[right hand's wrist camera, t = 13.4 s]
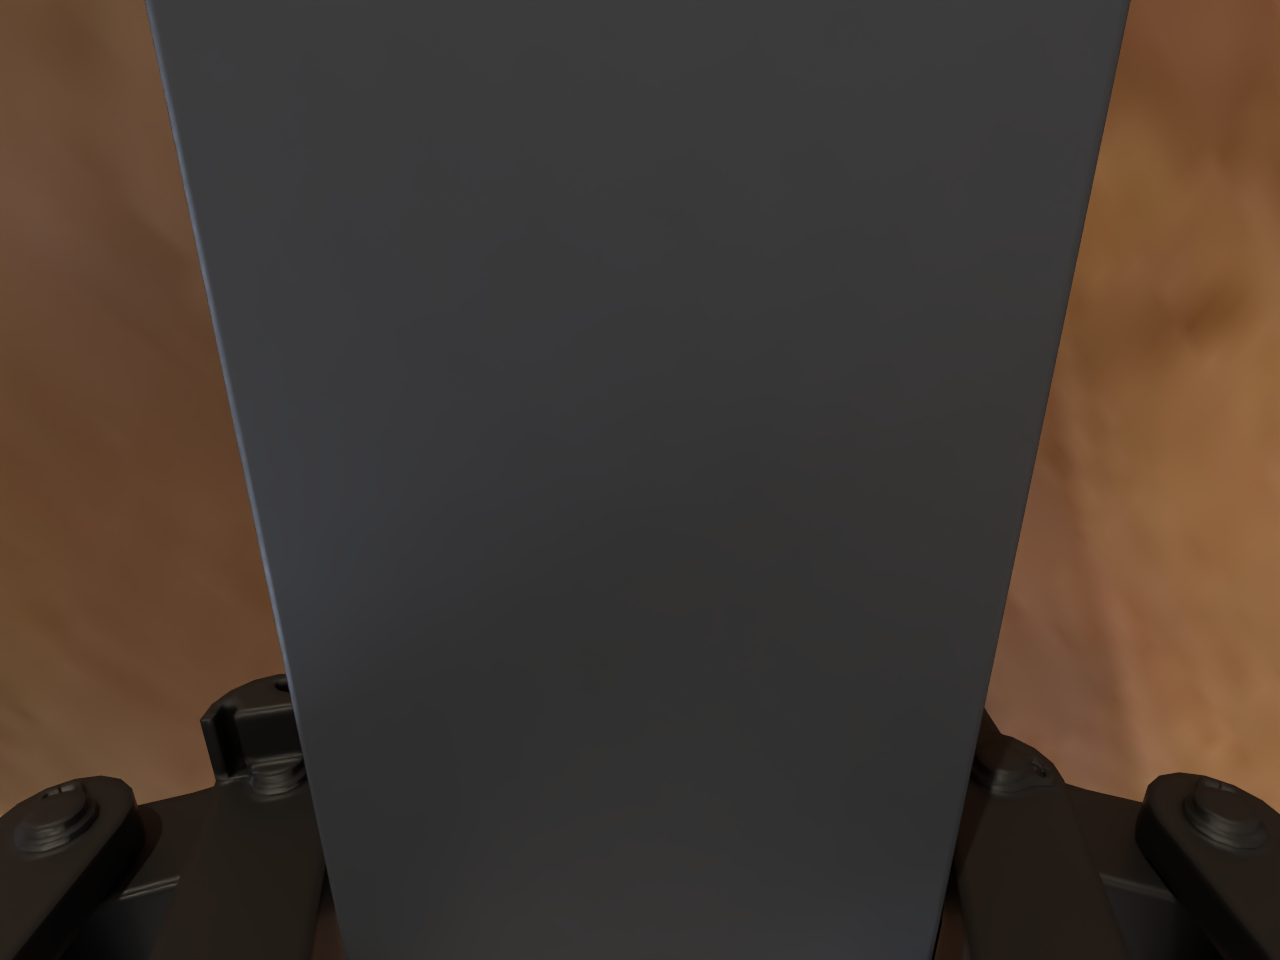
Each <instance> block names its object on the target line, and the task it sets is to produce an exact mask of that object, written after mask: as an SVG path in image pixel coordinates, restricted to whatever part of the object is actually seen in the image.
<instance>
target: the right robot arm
mask: <svg viewBox="0 0 1280 960" xmlns="http://www.w3.org/2000/svg"><path fill="white" fill-rule="evenodd" d="M200 723H201V726H202V730H203V734H204V738H205V741H206V745H207V749H208V752H209V756H210V760H211V764H212V767H213V771H214V775H215V779H216V783H215V785H214V787H211V788H207V789H204V790H201V791H197V792H194V793H190V794H186V795H181V796H177V797H173V798H168V799H164V800H160V801H155V802H151V803H147V804H142V805H138V806H137V803H136V800H135V797H134V793H133V790H132V788H131V787H129V786H128V785H127V784H126V783H125V782H124V781H123V780H121V779H118V778H112V777H106V776H94V777H86V778H79V779H73V780H71V781H68V782H65V783H62V784H59V785H56V786H53V787H50V788H47V789H45V790H43V791H41V792H39V793H37V794H35V795H34V796H32V797H30V798H28V799H26V800H24V801H22V802H20V803H19V804H17V805H16V806H15V807H13V808H12V809H11V810H10V811H8V812H7V813H6V814H5V815H3V816H2V817H1V818H0V960H346V958H345V953H344V949H343V944H342V939H341V934H340V930H339V925H338V920H337V915H336V910H335V906H334V901H333V896H332V891H331V887H330V882H329V877H328V872H327V867H326V863H325V858H324V853H323V848H322V844H321V839H320V834H319V829H318V825H317V820H316V815H315V810H314V805H313V801H312V796H311V791H310V786H309V782H308V777H307V772H306V767H305V762H304V758H303V753H302V748H301V743H300V739H299V734H298V729H297V724H296V719H295V715H294V710H293V705H292V700H291V696H290V691H289V686H288V681H287V677H286V674H278V675H274V676H270V677H265V678H261V679H257V680H254V681H251V682H249V683H247V684H245V685H242V686H240V687H238V688H236V689H233V690H231V691H230V692H228V693H227V694H226V695H224V696H223V697H221V698H220V699H219V700H217V701H216V702H214V703H213V704H212V705H211V706H210V707H209V709H208V710H207V711H206V713H205V714H204V715H203V717H202V718H201V719H200ZM932 960H1280V814H1279V813H1278V812H1276V811H1275V810H1274V809H1272V808H1271V807H1270V806H1269V805H1267V804H1266V803H1265V802H1264V801H1262V800H1260V799H1259V798H1257V797H1255V796H1253V795H1251V794H1249V793H1247V792H1245V791H1244V790H1242V789H1240V788H1238V787H1236V786H1234V785H1231V784H1228V783H1225V782H1223V781H1219V780H1216V779H1213V778H1210V777H1207V776H1203V775H1196V774H1188V773H1180V772H1178V773H1172V774H1166V775H1160V776H1158V777H1157V778H1156V779H1155V780H1154V781H1153V782H1151V783H1150V784H1149V785H1148V787H1147V790H1146V793H1145V797H1144V800H1143V803H1142V802H1138V801H1134V800H1129V799H1125V798H1121V797H1116V796H1112V795H1107V794H1103V793H1099V792H1094V791H1090V790H1086V789H1083V788H1079V787H1076V786H1073V785H1069V784H1066V783H1065V781H1064V779H1063V778H1062V776H1061V775H1060V773H1059V772H1058V770H1057V769H1056V767H1055V766H1054V764H1053V763H1052V762H1051V761H1050V760H1048V759H1047V758H1046V757H1045V756H1043V755H1042V754H1041V753H1040V752H1039V751H1037V750H1036V749H1035V748H1033V747H1031V746H1029V745H1027V744H1025V743H1023V742H1021V741H1019V740H1017V739H1015V738H1013V737H1010V736H1006V735H1003V734H1001V733H1000V731H999V730H998V728H997V727H996V725H995V724H994V722H993V721H992V719H991V718H990V716H989V715H988V713H987V711H986V710H985V708H984V710H983V715H982V720H981V724H980V729H979V734H978V739H977V744H976V749H975V753H974V758H973V763H972V768H971V773H970V777H969V782H968V787H967V792H966V797H965V802H964V806H963V811H962V816H961V821H960V826H959V831H958V835H957V840H956V845H955V850H954V855H953V859H952V864H951V869H950V874H949V879H948V884H947V888H946V893H945V898H944V903H943V908H942V913H941V917H940V922H939V927H938V932H937V937H936V942H935V946H934V951H933V956H932Z"/></svg>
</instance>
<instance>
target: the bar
mask: <svg viewBox="0 0 1280 960" xmlns="http://www.w3.org/2000/svg"><path fill="white" fill-rule="evenodd" d="M1130 1H1131V0H145V3H146V8H147V13H148V18H149V23H150V27H151V32H152V37H153V42H154V46H155V51H156V56H157V61H158V66H159V70H160V75H161V80H162V85H163V89H164V94H165V99H166V104H167V108H168V113H169V118H170V123H171V128H172V132H173V137H174V142H175V147H176V151H177V156H178V161H179V166H180V171H181V175H182V180H183V185H184V190H185V194H186V199H187V204H188V209H189V213H190V218H191V223H192V228H193V233H194V237H195V242H196V247H197V252H198V256H199V261H200V266H201V271H202V276H203V280H204V285H205V290H206V295H207V299H208V304H209V309H210V314H211V319H212V323H213V328H214V333H215V338H216V342H217V347H218V352H219V357H220V361H221V366H222V371H223V376H224V381H225V385H226V390H227V395H228V400H229V404H230V409H231V414H232V419H233V424H234V428H235V433H236V438H237V443H238V447H239V452H240V457H241V462H242V466H243V471H244V476H245V481H246V486H247V490H248V495H249V500H250V505H251V509H252V514H253V519H254V524H255V529H256V533H257V538H258V543H259V548H260V552H261V557H262V562H263V567H264V572H265V576H266V581H267V586H268V591H269V595H270V600H271V605H272V610H273V614H274V619H275V624H276V629H277V634H278V638H279V643H280V648H281V653H282V657H283V662H284V667H285V672H286V677H287V681H288V686H289V691H290V696H291V700H292V705H293V710H294V715H295V719H296V724H297V729H298V734H299V739H300V743H301V748H302V753H303V758H304V762H305V767H306V772H307V777H308V782H309V786H310V791H311V796H312V801H313V805H314V810H315V815H316V820H317V825H318V829H319V834H320V839H321V844H322V848H323V853H324V858H325V863H326V867H327V872H328V877H329V882H330V887H331V891H332V896H333V901H334V906H335V910H336V915H337V920H338V925H339V930H340V934H341V939H342V944H343V949H344V953H345V958H346V960H932V956H933V951H934V946H935V942H936V937H937V932H938V927H939V922H940V917H941V913H942V908H943V903H944V898H945V893H946V888H947V884H948V879H949V874H950V869H951V864H952V859H953V855H954V850H955V845H956V840H957V835H958V831H959V826H960V821H961V816H962V811H963V806H964V802H965V797H966V792H967V787H968V782H969V777H970V773H971V768H972V763H973V758H974V753H975V749H976V744H977V739H978V734H979V729H980V724H981V720H982V715H983V710H984V705H985V700H986V695H987V691H988V686H989V681H990V676H991V671H992V666H993V662H994V657H995V652H996V647H997V642H998V638H999V633H1000V628H1001V623H1002V618H1003V613H1004V609H1005V604H1006V599H1007V594H1008V589H1009V584H1010V580H1011V575H1012V570H1013V565H1014V560H1015V555H1016V551H1017V546H1018V541H1019V536H1020V531H1021V527H1022V522H1023V517H1024V512H1025V507H1026V502H1027V498H1028V493H1029V488H1030V483H1031V478H1032V473H1033V469H1034V464H1035V459H1036V454H1037V449H1038V444H1039V440H1040V435H1041V430H1042V425H1043V420H1044V416H1045V411H1046V406H1047V401H1048V396H1049V391H1050V387H1051V382H1052V377H1053V372H1054V367H1055V362H1056V358H1057V353H1058V348H1059V343H1060V338H1061V334H1062V329H1063V324H1064V319H1065V314H1066V309H1067V305H1068V300H1069V295H1070V290H1071V285H1072V280H1073V276H1074V271H1075V266H1076V261H1077V256H1078V251H1079V247H1080V242H1081V237H1082V232H1083V227H1084V223H1085V218H1086V213H1087V208H1088V203H1089V198H1090V194H1091V189H1092V184H1093V179H1094V174H1095V169H1096V165H1097V160H1098V155H1099V150H1100V145H1101V140H1102V136H1103V131H1104V126H1105V121H1106V116H1107V112H1108V107H1109V102H1110V97H1111V92H1112V87H1113V83H1114V78H1115V73H1116V68H1117V63H1118V58H1119V54H1120V49H1121V44H1122V39H1123V34H1124V29H1125V25H1126V20H1127V15H1128V10H1129V5H1130Z"/></svg>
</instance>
